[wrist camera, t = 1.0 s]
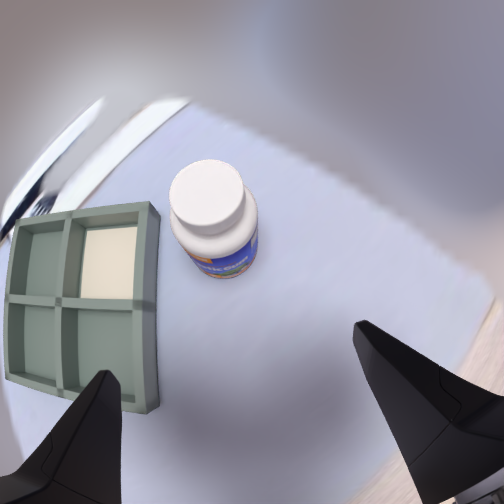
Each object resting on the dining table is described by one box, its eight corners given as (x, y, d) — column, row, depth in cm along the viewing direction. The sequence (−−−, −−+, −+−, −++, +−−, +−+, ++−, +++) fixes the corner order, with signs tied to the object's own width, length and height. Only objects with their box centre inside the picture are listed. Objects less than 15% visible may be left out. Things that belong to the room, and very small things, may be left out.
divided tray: (159, 405, 20) (146, 414, 17) (23, 377, 20) (5, 379, 17) (160, 215, 25) (149, 201, 22) (32, 229, 25) (16, 219, 22)
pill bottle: (191, 279, 23) (148, 242, 14) (194, 217, 24) (161, 152, 15) (258, 279, 23) (258, 240, 13) (257, 216, 24) (256, 146, 15)
